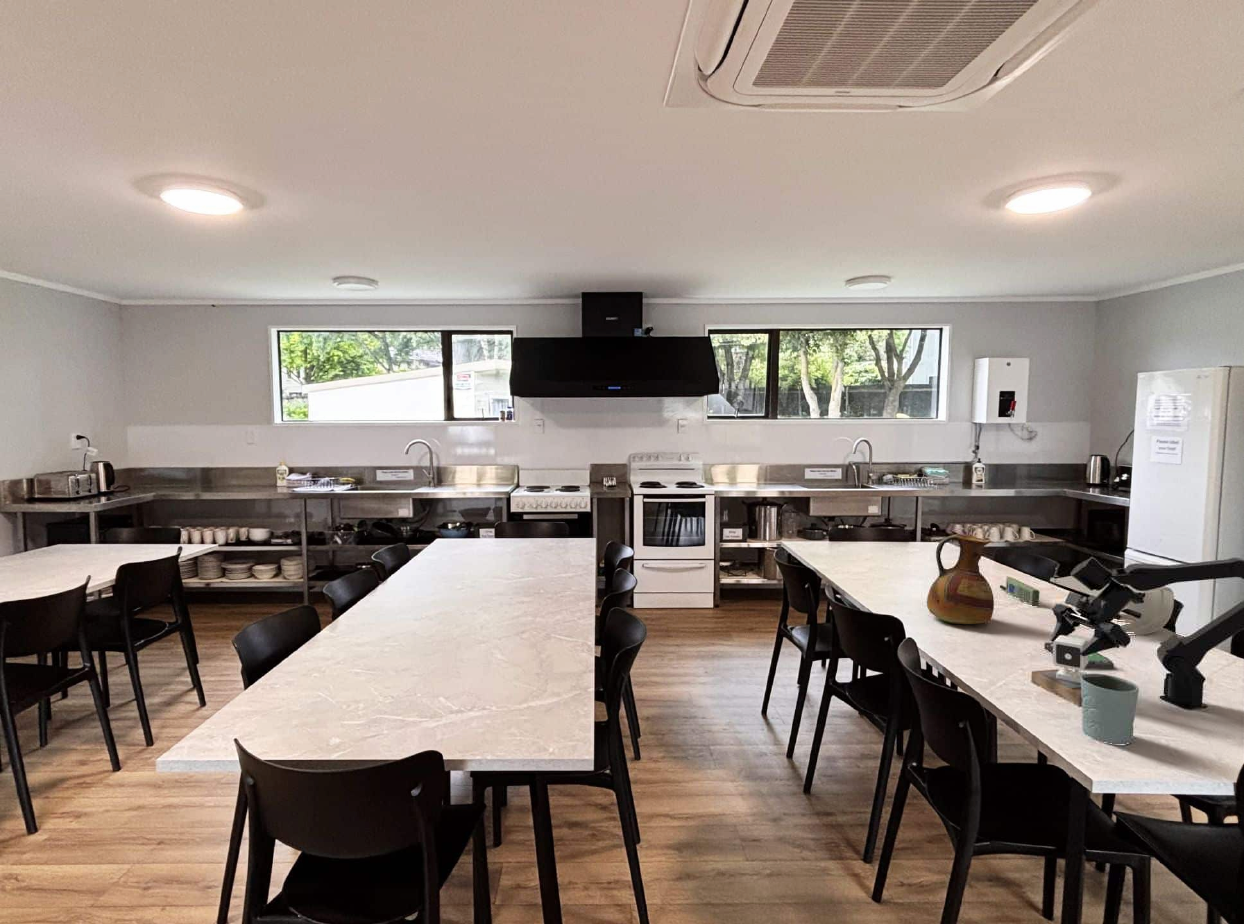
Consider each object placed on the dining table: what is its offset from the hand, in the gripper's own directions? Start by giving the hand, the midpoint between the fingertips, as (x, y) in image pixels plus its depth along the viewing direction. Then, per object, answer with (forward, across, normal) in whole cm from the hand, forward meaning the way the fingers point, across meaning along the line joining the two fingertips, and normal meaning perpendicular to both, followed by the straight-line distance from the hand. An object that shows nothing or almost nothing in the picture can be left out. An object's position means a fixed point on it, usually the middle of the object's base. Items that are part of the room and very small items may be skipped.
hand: (1066, 648), depth 157 cm
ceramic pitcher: (+2, -57, +15) cm, 59 cm away
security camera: (+5, 0, +7) cm, 8 cm away
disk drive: (-7, -21, +24) cm, 33 cm away
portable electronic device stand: (-33, -50, +49) cm, 77 cm away
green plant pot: (+14, +21, +3) cm, 25 cm away
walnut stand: (+7, 0, +9) cm, 12 cm away
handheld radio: (-27, -82, +44) cm, 97 cm away
